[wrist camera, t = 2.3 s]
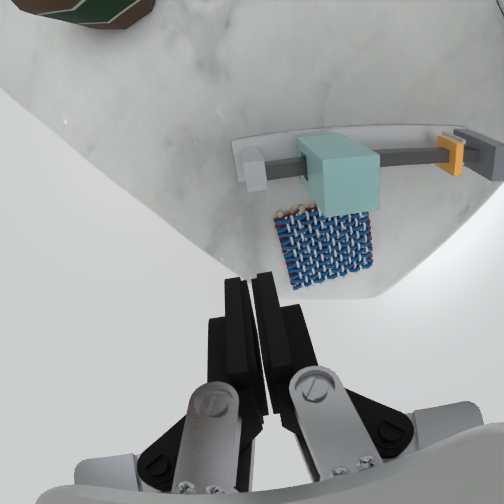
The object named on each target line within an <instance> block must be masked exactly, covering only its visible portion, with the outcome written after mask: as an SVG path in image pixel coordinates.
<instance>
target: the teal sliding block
mask: <svg viewBox="0 0 504 504" xmlns="http://www.w3.org/2000/svg"><path fill="white" fill-rule="evenodd" d="M297 146H298V156H299V157H303V156H306V162H307V174H308V175H302V176H300V177H301V182H302V183H303V185H304V186H305V188H306V189H307V191H308V192H309V194H310V195H311V197H312V198H313V200H314V201H315V203H316V204H317V206H318V207H319V209H320V210H321V212H322V214H323V215H324V217H325V218H326V217H333V216H340V215H346V214H353V213H360V212H367V211H374V210H378V208H379V184H380V155H379V154H378V153H376V152H374V151H372V150H371V149H369V148H367V147H366V146H364V145H362V144H360V143H358V142H357V141H355V140H353V139H351V138H349V137H348V136H346V135H344V134H342V133H336V134H324V135H313V136H304V137H297Z"/></svg>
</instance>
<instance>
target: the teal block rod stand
mask: <svg viewBox="0 0 504 504" xmlns="http://www.w3.org/2000/svg"><path fill="white" fill-rule="evenodd" d="M336 133H342V134H344V135H346V136H348V137H349V138H351V139H353V140H355V141H357V142H358V143H360V144H362V145H364V146H366V147H367V148H369V149H371V150H372V151H374V152H376V153H378V154H379V155H380V167H385V166H398V165H412V164H430V163H436V166H438V167H440V168H441V169H443V170H445V171H446V172H448V173H450V174H451V175H453V176H461V172H462V166H466V167H468V168H470V169H471V170H473V171H475V172H477V173H478V174H480V175H482V176H483V177H485V178H487V179H488V180H490V181H504V144H503V143H500V142H498V141H496V140H494V139H491V138H489V137H487V136H484V135H482V134H479V133H477V132H474V131H472V130H468V128H466V127H463V126H450V125H423V124H386V125H358V126H341V127H327V128H316V129H305V130H296V131H287V132H279V133H271V134H264V135H257V136H251V137H244V138H238V139H232V140H231V145H232V150H233V156H234V162H235V167H236V173H237V178H238V182H244V181H246V186H247V192H248V193H249V192H255V191H261V190H267V189H268V185H267V180H273V179H280V178H287V177H294V176H302V175H308V174H307V162H306V156H303V157H299V156H298V146H297V137H304V136H313V135H324V134H336Z"/></svg>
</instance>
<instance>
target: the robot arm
mask: <svg viewBox="0 0 504 504" xmlns="http://www.w3.org/2000/svg"><path fill="white" fill-rule="evenodd" d="M498 3H499V5H500V7H501V9H502V12H503V14H504V0H498ZM251 281H252V288H253V295H254V303H255V310H256V317H257V324H258V331H259V339H260V346H261V353H262V360H263V366H264V372H265V377H266V381H267V386H268V390H269V395H270V399H271V404H272V409H273V413H274V414H277V413H280V417H281V422H282V426H283V427H284V428H286V429H288V430H289V431H291V432H293V433H294V436H295V438H296V441H297V444H298V446H299V449H300V452H301V454H302V457H303V460H304V462H305V465H306V467H307V470H308V473H309V475H310V477H311V480H312V483H310V484H305V485H299V486H293V487H288V488H282V489H274V490H266V491H257V492H252V479H253V466H254V452H255V437H256V436H257V435H258V434H259V433H260V432H261V431H262V429H263V427H262V424H264V421H263V416H265V415H269V414H268V406H267V399H266V391H265V385H264V377H263V369H262V363H261V355H260V348H259V341H258V334H257V329H256V324H255V319H254V314H253V309H252V305H251V300H250V294H249V290H248V285H247V280H243V281H241V279H240V277H236V278H230V279H225V317H218V318H211V319H209V324H208V374H207V376H208V378H207V379H208V380H207V383H206V384H203V385H202V386H200V387H199V388H197V389H196V390H195V391H194V393H193V394H192V396H191V398H190V401H189V405H188V410H187V414H186V415H185V416H184V417H183V418H182V419H181V420H179V421H178V422H177V423H176V424H175V425H174V426H173V427H172V428H170V429H169V430H168V431H167V432H166V433H165V434H164V435H163V436H161V437H160V438H159V439H158V440H157V441H155V442H154V443H153V444H152V445H151V446H149V447H148V448H147V449H146V450H145V451H144V452H143V453H142V454H139V455H134V454H125V455H119V456H111V457H103V458H95V459H86V460H83V461H81V462H80V463H79V464H78V465H77V466H76V468H75V472H74V481H75V485H65V486H59V487H55V488H52V489H50V490H47V491H46V492H44V493H43V494H41V496H40V497H39V498H38V499H37V501H36V503H35V504H504V423H502V422H501V423H491V424H486V425H484V423H483V419H482V415H481V412H480V409H479V408H478V407H477V406H476V405H475V404H474V403H472V402H469V401H463V402H458V403H454V404H448V405H443V406H438V407H433V408H427V409H420V410H415V411H414V412H413V413H408V414H403V413H402V412H399V411H397V410H395V409H392V408H389V407H387V406H385V405H382V404H380V403H377V402H375V401H373V400H371V399H368V398H366V397H364V396H361V395H359V394H357V393H355V392H352V391H350V390H348V389H346V388H344V387H343V385H342V383H341V381H340V379H339V377H338V376H337V375H336V374H335V372H333V371H332V370H330V369H329V368H326V367H323V366H318V363H317V360H316V357H315V353H314V350H313V346H312V343H311V339H310V336H309V333H308V329H307V326H306V323H305V320H304V316H303V313H302V310H301V307H300V305H299V304H296V305H290V306H285V307H280V305H279V300H278V296H277V292H276V287H275V283H274V279H273V275H272V271H271V272H265V273H260V274H257V278H255V279H251Z"/></svg>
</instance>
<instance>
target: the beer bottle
mask: <svg viewBox="0 0 504 504" xmlns="http://www.w3.org/2000/svg"><path fill="white" fill-rule="evenodd" d="M11 1H12V2H13V3H14V4H15V5H16V6H17V7H18V8H19V9H20V10H22V11H25V12H28V13H31V14H34V15H39V16H44V17H49V18H53V19H58V20H62V21H66V22H70V23H74V24H78V25H82V26H86V27H89V28H95V29H126V28H127V27H128V26H130V25H131V24H133V23H134V22H135V21H137V20H138V19H140V18H141V17H142V16H144V15H145V14H147V13H148V12H150V11H151V10H152V8H153V5H154V2H155V0H11Z"/></svg>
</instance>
